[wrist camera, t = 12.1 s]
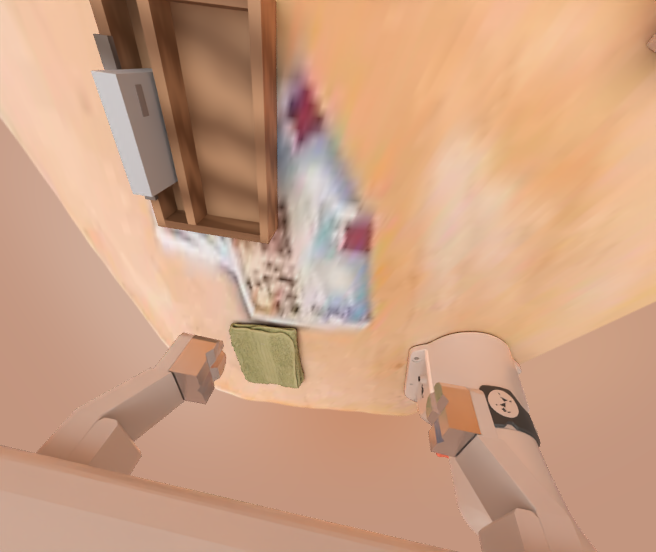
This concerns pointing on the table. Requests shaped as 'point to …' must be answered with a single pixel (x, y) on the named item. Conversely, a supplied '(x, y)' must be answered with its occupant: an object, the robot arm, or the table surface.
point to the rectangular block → (137, 128)
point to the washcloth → (267, 354)
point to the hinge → (652, 43)
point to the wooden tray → (207, 105)
